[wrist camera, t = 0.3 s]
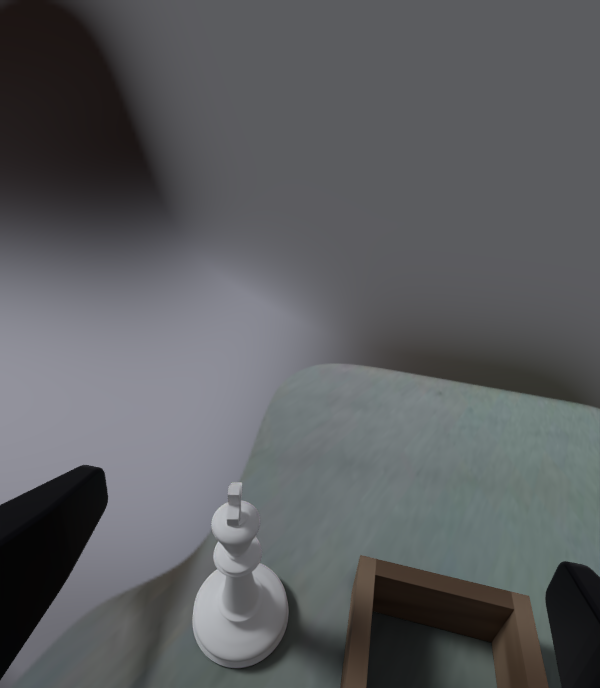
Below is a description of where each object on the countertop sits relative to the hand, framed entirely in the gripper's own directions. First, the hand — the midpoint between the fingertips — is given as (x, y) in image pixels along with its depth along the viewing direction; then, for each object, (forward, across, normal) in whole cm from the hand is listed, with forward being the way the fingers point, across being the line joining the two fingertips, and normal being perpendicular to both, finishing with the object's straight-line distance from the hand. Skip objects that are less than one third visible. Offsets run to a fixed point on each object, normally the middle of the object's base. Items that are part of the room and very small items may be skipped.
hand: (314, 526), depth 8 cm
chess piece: (+8, +4, +16) cm, 18 cm away
